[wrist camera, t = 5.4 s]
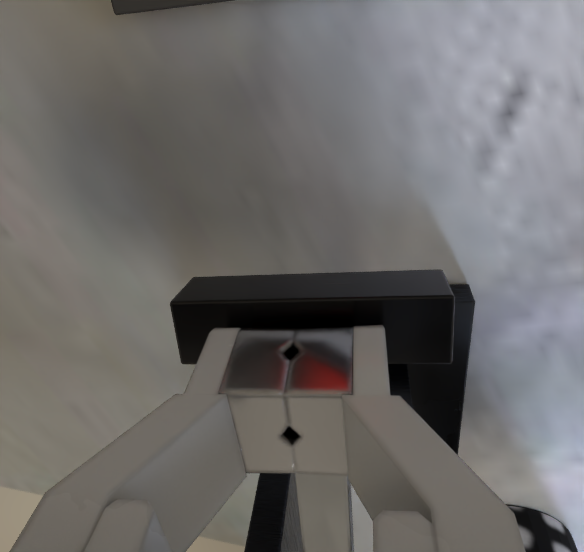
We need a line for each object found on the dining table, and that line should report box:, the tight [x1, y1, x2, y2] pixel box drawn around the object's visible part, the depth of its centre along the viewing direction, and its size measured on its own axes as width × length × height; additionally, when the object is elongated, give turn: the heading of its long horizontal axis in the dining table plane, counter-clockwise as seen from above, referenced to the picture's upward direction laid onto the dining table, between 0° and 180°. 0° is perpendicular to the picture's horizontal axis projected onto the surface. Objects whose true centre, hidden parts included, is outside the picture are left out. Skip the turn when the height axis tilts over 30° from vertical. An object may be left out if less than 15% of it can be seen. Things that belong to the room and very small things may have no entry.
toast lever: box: [170, 270, 455, 552], centre depth 11 cm, size 12×5×2 cm, turn 6°
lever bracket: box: [244, 284, 475, 552], centre depth 16 cm, size 9×10×13 cm
